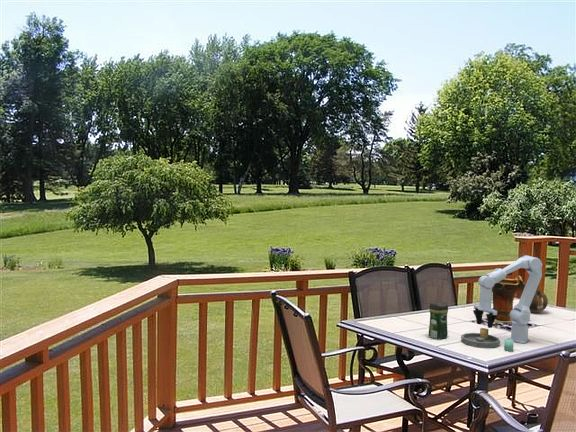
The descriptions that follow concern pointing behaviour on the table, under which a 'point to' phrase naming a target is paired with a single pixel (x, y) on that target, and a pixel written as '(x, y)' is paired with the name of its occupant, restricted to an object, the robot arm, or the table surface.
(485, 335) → the tan wooden cylinder
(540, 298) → the wooden sphere
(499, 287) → the decorative vase
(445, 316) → the coffee jar
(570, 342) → the table surface
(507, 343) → the teal cylinder
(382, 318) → the table surface
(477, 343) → the ring tray
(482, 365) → the table surface
